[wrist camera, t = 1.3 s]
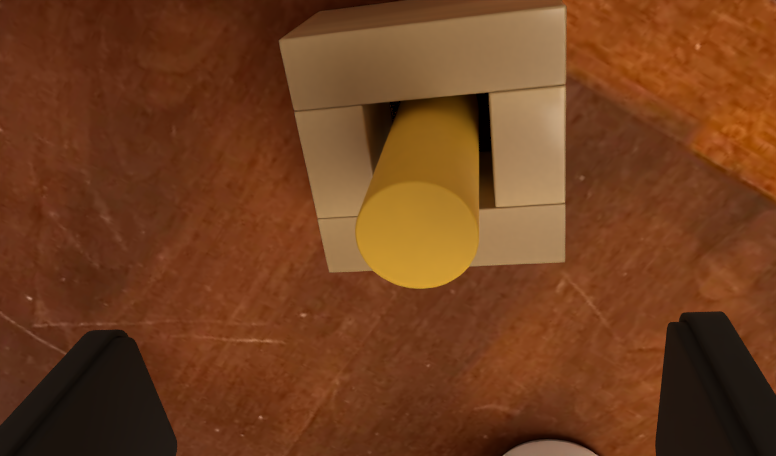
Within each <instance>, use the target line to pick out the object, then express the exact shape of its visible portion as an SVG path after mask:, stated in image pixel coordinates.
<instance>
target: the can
mask: <svg viewBox="0 0 776 456" xmlns="http://www.w3.org/2000/svg"><path fill="white" fill-rule="evenodd" d="M503 456H598V455H596V454H595V453H593V452H592V451H590V450H589V449H587V448H585V447H583V446H581V445H579V444H576V443H573V442H570V441H566V440H559V439H538V440H532V441H528V442H525V443H522V444H519V445H517V446H515V447H513V448H512V449H510V450H509V451H507V452H506V453H505V454H504V455H503Z"/></svg>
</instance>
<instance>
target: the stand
mask: <svg viewBox="0 0 776 456" xmlns="http://www.w3.org/2000/svg"><path fill="white" fill-rule="evenodd" d="M279 46H280V50H281V55H282V59H283V64H284V68H285V73H286V77H287V82H288V87H289V91H290V96H291V100H292V105H293V109H294V111H295V113H294V114H295V119H296V123H297V128H298V132H299V137H300V141H301V146H302V150H303V155H304V159H305V164H306V169H307V173H308V178H309V182H310V187H311V191H312V196H313V200H314V205H315V209H316V214H317V217H318V224H319V229H320V233H321V238H322V242H323V247H324V252H325V256H326V261H327V265H328V270H329V272H353V271H373V270H372V269H371V268H370V267H369V266H368V264H367V263H366V262H365V261H364V259H363V257H362V255H361V254H360V251H359V249H358V246H357V242H356V237H355V225H356V220H357V217H358V214H359V211H360V208H361V206H362V203H363V201H364V198H365V195H366V193H367V190H368V187H369V185H370V182H371V179H372V177H373V174H374V171H375V169H376V166H377V163H378V161H379V158H380V156H381V153H382V150H383V148H384V145H385V142H386V140H387V137H388V134H389V132H390V129H391V126H392V117H391V110H390V103H389V102H394V101H404V100H414V99H425V98H435V97H445V96H455V95H466V94H476V93H486V92H488V94H489V111H490V129H491V146H492V151H488V152H479V245H478V249H477V252H476V255H475V257H474V259H473V261H472V263H471V264H470V265H469V266H489V265H512V264H534V263H557V262H565V185H566V86H565V83H566V5H565V4H564V3H563V1H562V0H404V1H396V2H388V3H380V4H373V5H365V6H357V7H349V8H342V9H334V10H326V11H319V12H317V13H316V14H315V15H313V16H312V17H310V18H309V19H308V20H306V21H305V22H303V23H302V24H301V25H299V26H298V27H296V28H295V29H294V30H292V31H291V32H289V33H288V34H287V35H285V36H284V37H282V38H281V39H280V40H279Z"/></svg>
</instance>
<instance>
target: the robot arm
mask: <svg viewBox="0 0 776 456" xmlns="http://www.w3.org/2000/svg"><path fill="white" fill-rule="evenodd" d="M655 446H656V456H776V395H775V393H774V392H773V390H772V388H771V387H770V385H769V383H768V382H767V380H766V379H765V377H764V375H763V374H762V372H761V371H760V369H759V367H758V366H757V364H756V362H755V361H754V359H753V358H752V356H751V354H750V353H749V351H748V349H747V348H746V346H745V345H744V343H743V341H742V340H741V338H740V337H739V335H738V333H737V332H736V330H735V328H734V327H733V325H732V324H731V322H730V320H729V319H728V317H727V316H726V315H725V313H723V312H687V313H682V314H681V316H680V319H679V322H670V323H669V324H668V327H667V334H666V344H665V354H664V364H663V373H662V383H661V393H660V403H659V412H658V422H657V432H656V444H655ZM176 452H177V440H176V437H175V435H174V432H173V430H172V427H171V425H170V423H169V420H168V418H167V415H166V413H165V411H164V408H163V406H162V404H161V401H160V399H159V396H158V394H157V392H156V389H155V387H154V384H153V382H152V380H151V377H150V375H149V373H148V370H147V368H146V365H145V363H144V361H143V358H142V356H141V353H140V351H139V349H138V346H137V344H136V342H135V340H134V339H132V338H130V337H128V335H127V333H125V332H124V331H123V330H93V331H89V332H87V333H86V334H85V335H84V336H83V337H82V338H81V339H80V340H79V341H78V342H77V343H76V344H75V345H74V346H73V348H72V349H71V350H70V351H69V352H68V353H67V354H66V355H65V356H64V357H63V358H62V359H61V361H60V362H59V363H58V364H57V365H56V366H55V367H54V368H53V369H52V370H51V371H50V372H49V374H48V375H47V376H46V377H45V378H44V379H43V380H42V381H41V382H40V383H39V384H38V385H37V387H36V388H35V389H34V390H33V391H32V392H31V393H30V394H29V395H28V396H27V397H26V398H25V400H24V401H23V402H22V403H21V404H20V405H19V406H18V407H17V408H16V409H15V410H14V411H13V413H12V414H11V415H10V416H9V417H8V418H7V419H6V420H5V421H4V422H3V423H2V424H1V426H0V456H176Z"/></svg>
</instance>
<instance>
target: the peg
mask: <svg viewBox="0 0 776 456" xmlns="http://www.w3.org/2000/svg"><path fill="white" fill-rule="evenodd" d="M355 237H356V242H357V246H358V249H359V251H360V254H361V255H362V257H363V259H364V261H365V262H366V263H367V264H368V266H369V267H370V268H371V269H372V270H373V271H374V272H375V273H377V274H378V275H379V276H381V277H382V278H384V279H385V280H387V281H389V282H392V283H394V284H397V285H400V286H404V287H408V288H421V289H423V288H432V287H437V286H440V285H443V284H446V283H448V282H450V281H452V280H454V279H455V278H457V277H458V276H460V275H461V274H462V273H463V272H464V271H465V270H466V269H467V268H468V267H469V265H470V264H471V263H472V261H473V259H474V257H475V255H476V252H477V249H478V245H479V105H478V99H477V96H476V94H466V95H455V96H445V97H435V98H425V99H414V100H404V101H401V103H400V105H399V108H398V111H397V113H396V116H395V118H394V121H393V124H392V126H391V129H390V132H389V134H388V137H387V140H386V142H385V145H384V148H383V150H382V153H381V156H380V158H379V161H378V163H377V166H376V169H375V171H374V174H373V177H372V179H371V182H370V185H369V187H368V190H367V193H366V195H365V198H364V201H363V203H362V206H361V208H360V211H359V214H358V217H357V220H356V225H355Z"/></svg>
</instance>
